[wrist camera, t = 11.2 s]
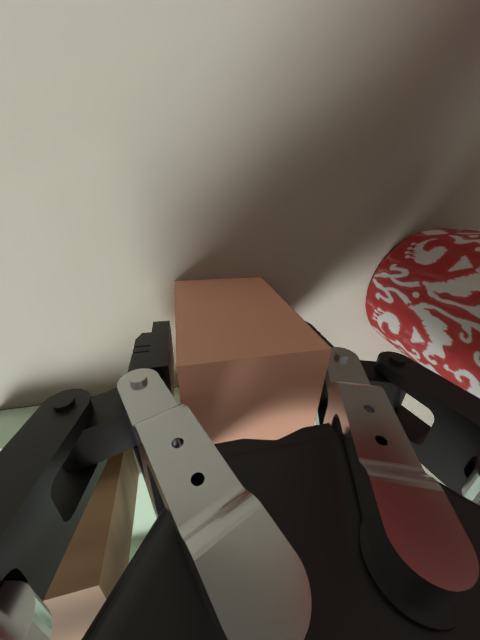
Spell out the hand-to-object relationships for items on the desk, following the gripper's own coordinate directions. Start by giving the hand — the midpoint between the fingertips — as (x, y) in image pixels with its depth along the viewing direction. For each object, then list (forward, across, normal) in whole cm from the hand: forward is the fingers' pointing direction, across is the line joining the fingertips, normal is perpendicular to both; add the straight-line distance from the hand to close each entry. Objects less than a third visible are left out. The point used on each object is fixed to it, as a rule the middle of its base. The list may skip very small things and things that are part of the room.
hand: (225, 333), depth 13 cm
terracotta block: (+2, 0, 0) cm, 2 cm away
